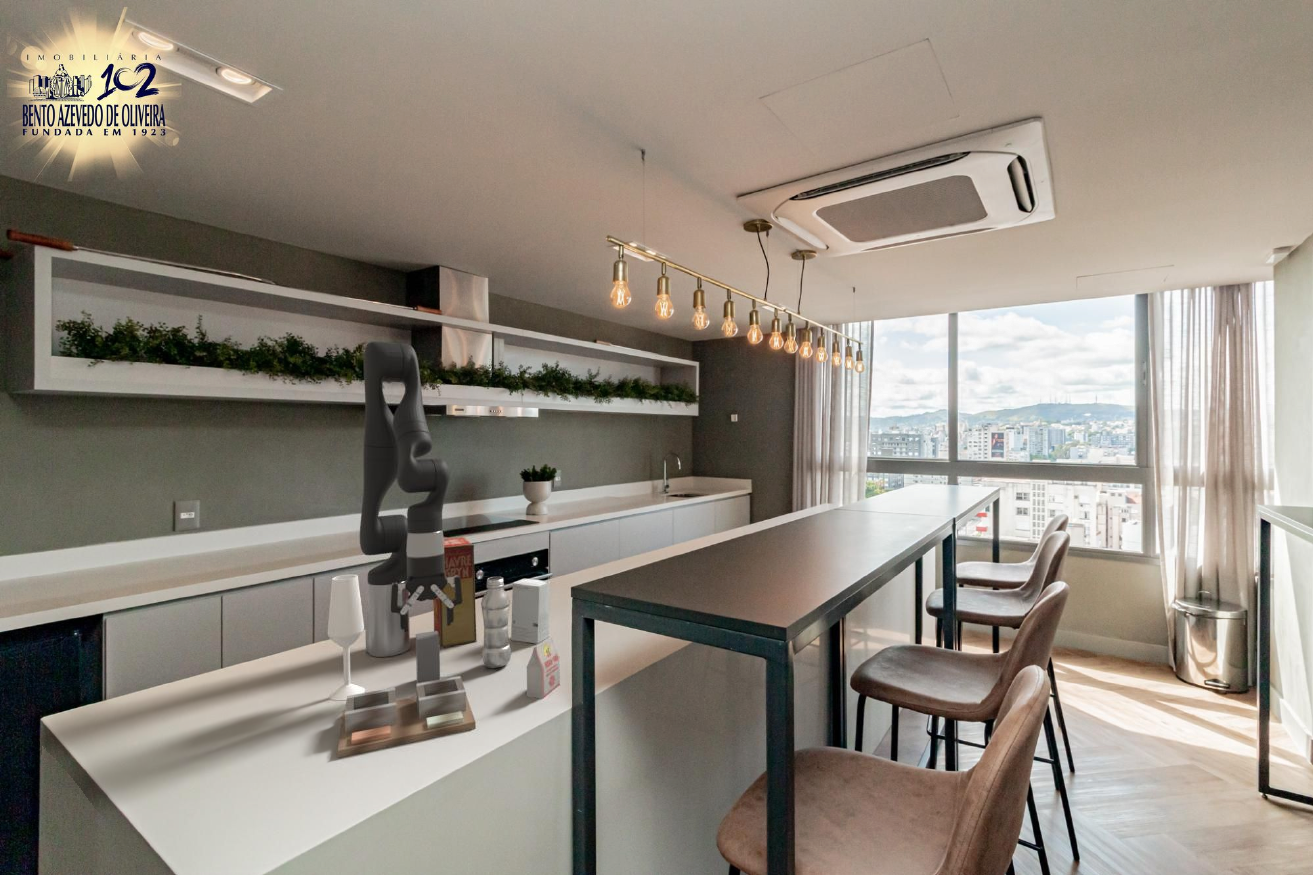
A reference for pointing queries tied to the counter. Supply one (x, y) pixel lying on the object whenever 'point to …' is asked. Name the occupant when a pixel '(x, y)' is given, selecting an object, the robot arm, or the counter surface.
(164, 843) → the counter surface
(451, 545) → the food packaging
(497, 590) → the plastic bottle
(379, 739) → the socket board
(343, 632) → the champagne flute
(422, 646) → the plug
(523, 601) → the skincare box
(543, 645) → the small milk carton
